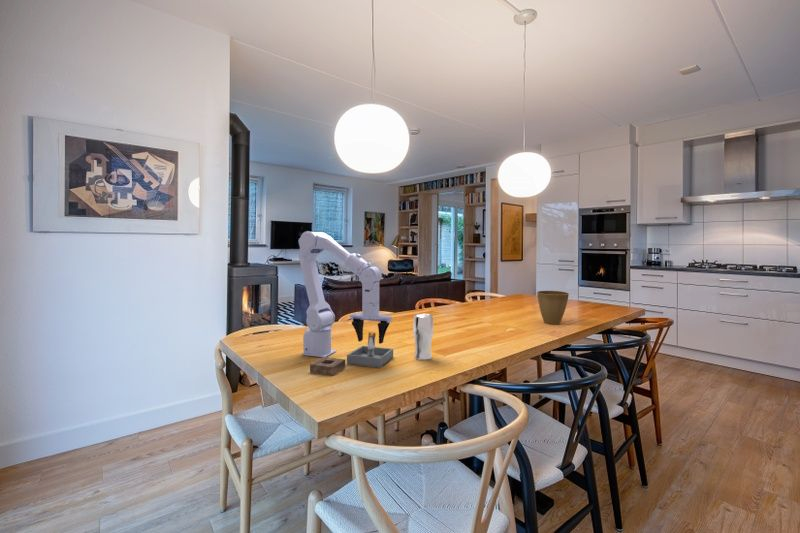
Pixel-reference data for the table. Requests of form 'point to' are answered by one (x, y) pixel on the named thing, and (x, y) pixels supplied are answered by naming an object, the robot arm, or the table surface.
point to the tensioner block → (327, 366)
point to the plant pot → (552, 305)
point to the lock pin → (371, 344)
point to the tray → (377, 361)
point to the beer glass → (423, 336)
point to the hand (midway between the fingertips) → (370, 341)
